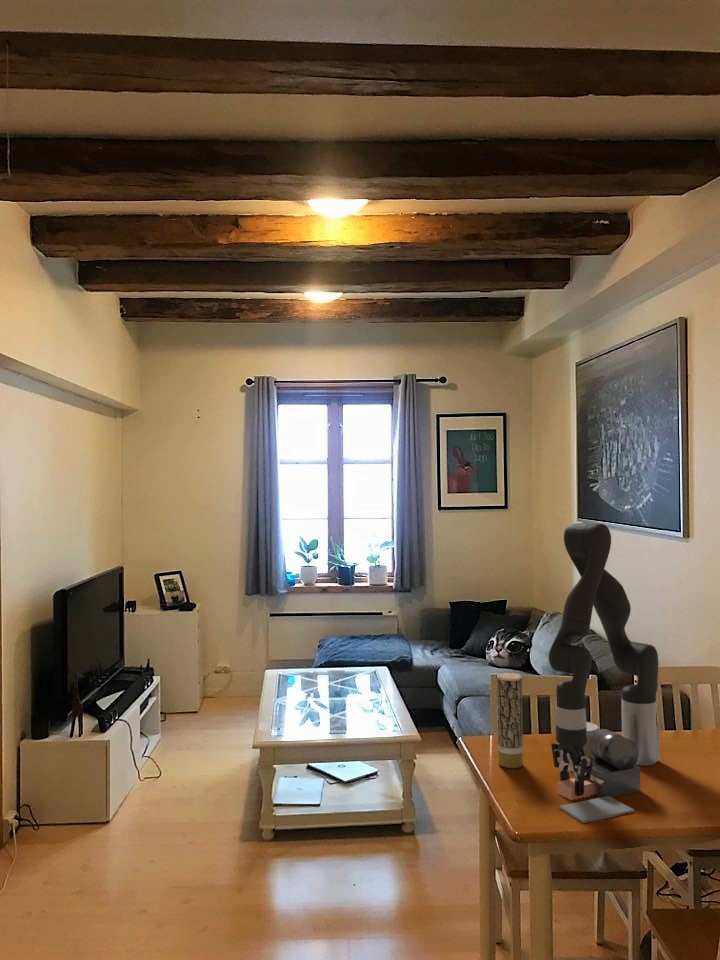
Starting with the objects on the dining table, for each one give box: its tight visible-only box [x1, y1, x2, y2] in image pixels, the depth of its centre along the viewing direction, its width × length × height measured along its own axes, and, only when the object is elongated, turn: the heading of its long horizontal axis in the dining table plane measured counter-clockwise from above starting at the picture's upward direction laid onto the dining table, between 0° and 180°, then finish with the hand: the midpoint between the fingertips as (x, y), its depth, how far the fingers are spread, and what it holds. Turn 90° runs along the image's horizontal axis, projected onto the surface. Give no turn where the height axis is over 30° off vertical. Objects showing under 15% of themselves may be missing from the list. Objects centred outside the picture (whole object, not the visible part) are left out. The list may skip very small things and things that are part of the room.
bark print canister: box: [496, 672, 524, 769], centre depth 218 cm, size 7×7×25 cm
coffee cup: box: [569, 721, 600, 772], centre depth 214 cm, size 9×9×12 cm
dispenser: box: [576, 728, 641, 798], centre depth 201 cm, size 13×10×14 cm
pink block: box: [557, 777, 598, 801], centre depth 198 cm, size 14×5×3 cm, turn 116°
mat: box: [558, 796, 635, 824], centre depth 187 cm, size 15×9×1 cm, turn 112°
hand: (571, 790), depth 196 cm, fingers closed on pink block, 5 cm apart
